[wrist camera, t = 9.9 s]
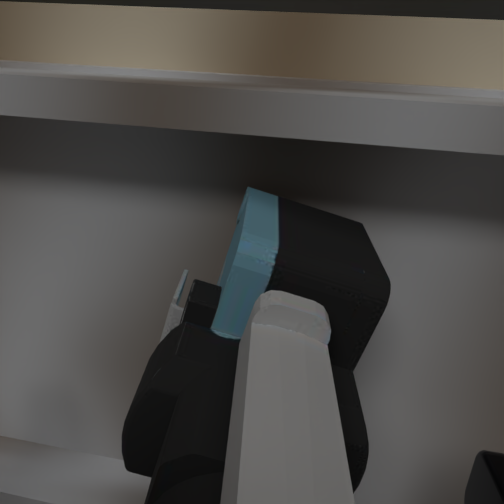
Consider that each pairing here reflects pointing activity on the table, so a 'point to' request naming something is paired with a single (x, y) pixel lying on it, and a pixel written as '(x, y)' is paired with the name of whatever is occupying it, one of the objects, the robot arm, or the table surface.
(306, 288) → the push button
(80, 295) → the rail board
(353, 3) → the table surface
